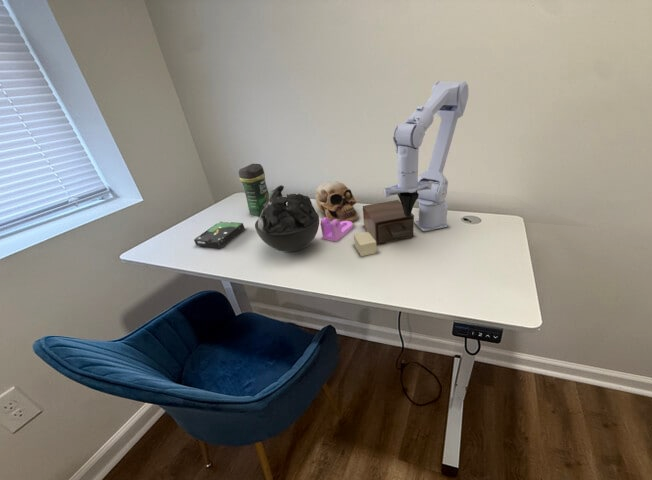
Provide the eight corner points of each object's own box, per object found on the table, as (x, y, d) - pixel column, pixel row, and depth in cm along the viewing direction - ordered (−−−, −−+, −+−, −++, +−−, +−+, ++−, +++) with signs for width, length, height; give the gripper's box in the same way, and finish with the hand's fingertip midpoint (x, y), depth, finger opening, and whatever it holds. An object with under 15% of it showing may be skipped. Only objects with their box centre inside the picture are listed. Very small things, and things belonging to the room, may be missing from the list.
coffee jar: (263, 217, 127) (250, 169, 116) (247, 215, 130) (232, 168, 118) (277, 207, 135) (265, 162, 123) (261, 206, 137) (248, 161, 125)
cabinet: (413, 236, 109) (414, 215, 104) (376, 244, 106) (374, 222, 101) (398, 220, 120) (398, 199, 115) (364, 226, 117) (362, 205, 112)
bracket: (336, 241, 109) (333, 222, 104) (323, 238, 111) (319, 220, 107) (355, 225, 117) (354, 207, 113) (343, 223, 120) (340, 205, 115)
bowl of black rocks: (312, 265, 97) (300, 206, 86) (252, 262, 101) (233, 205, 89) (330, 234, 113) (322, 181, 101) (278, 232, 116) (264, 180, 105)
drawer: (419, 243, 103) (419, 225, 99) (383, 250, 101) (383, 232, 97) (398, 220, 117) (398, 204, 113) (367, 226, 115) (366, 210, 111)
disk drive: (221, 249, 109) (245, 229, 120) (218, 242, 107) (243, 222, 118) (196, 246, 111) (221, 227, 122) (192, 239, 109) (219, 220, 120)
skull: (355, 223, 119) (348, 187, 111) (312, 225, 123) (302, 191, 115) (364, 207, 131) (358, 174, 123) (325, 210, 135) (317, 178, 128)
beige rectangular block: (369, 242, 107) (368, 231, 105) (376, 252, 101) (376, 241, 99) (354, 245, 106) (353, 234, 103) (361, 256, 100) (360, 245, 98)
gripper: (388, 178, 86) (389, 224, 95) (437, 170, 89) (434, 216, 98) (380, 171, 92) (382, 215, 100) (426, 164, 95) (424, 207, 103)
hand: (407, 215), depth 99 cm, fingers closed
